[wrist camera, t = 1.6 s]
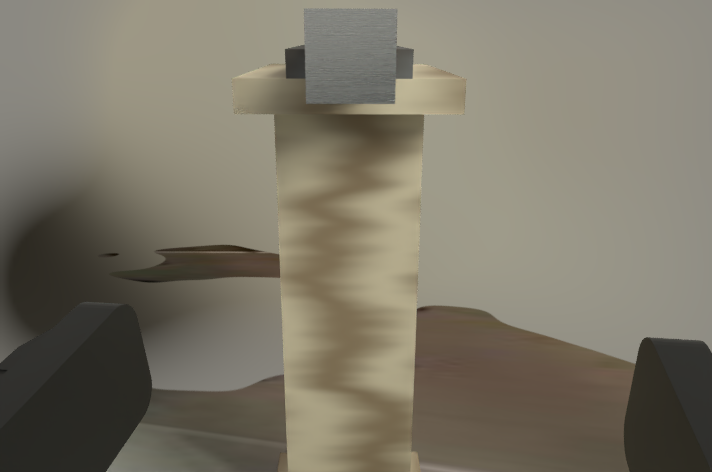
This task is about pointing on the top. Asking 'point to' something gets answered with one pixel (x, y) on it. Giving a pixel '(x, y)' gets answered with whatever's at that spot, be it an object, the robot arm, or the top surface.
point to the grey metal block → (350, 56)
